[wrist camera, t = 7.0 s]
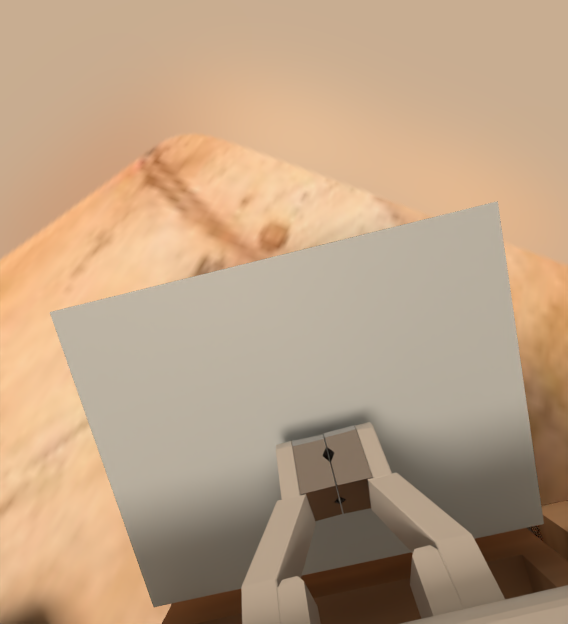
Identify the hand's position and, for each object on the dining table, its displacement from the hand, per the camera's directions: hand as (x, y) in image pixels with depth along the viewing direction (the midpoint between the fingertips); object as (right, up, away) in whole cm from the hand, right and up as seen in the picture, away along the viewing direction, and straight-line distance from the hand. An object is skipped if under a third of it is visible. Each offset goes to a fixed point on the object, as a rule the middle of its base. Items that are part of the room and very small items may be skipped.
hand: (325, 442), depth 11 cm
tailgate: (+1, -5, +1) cm, 5 cm away
